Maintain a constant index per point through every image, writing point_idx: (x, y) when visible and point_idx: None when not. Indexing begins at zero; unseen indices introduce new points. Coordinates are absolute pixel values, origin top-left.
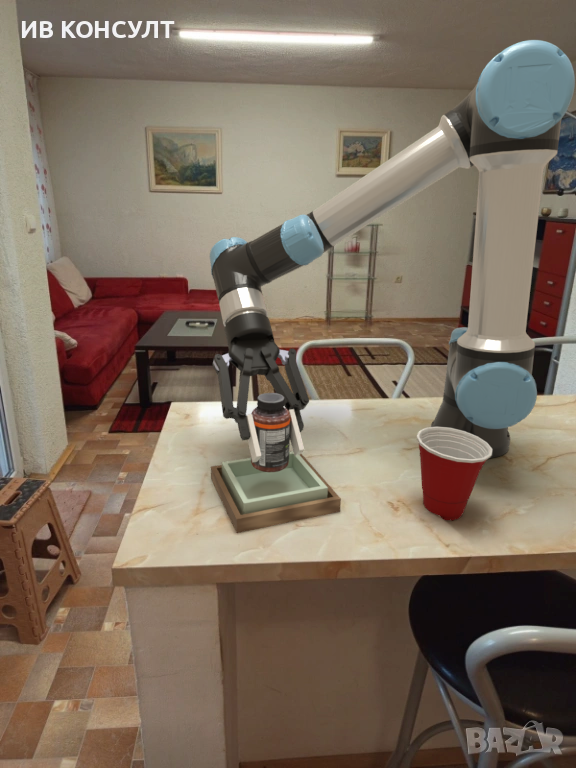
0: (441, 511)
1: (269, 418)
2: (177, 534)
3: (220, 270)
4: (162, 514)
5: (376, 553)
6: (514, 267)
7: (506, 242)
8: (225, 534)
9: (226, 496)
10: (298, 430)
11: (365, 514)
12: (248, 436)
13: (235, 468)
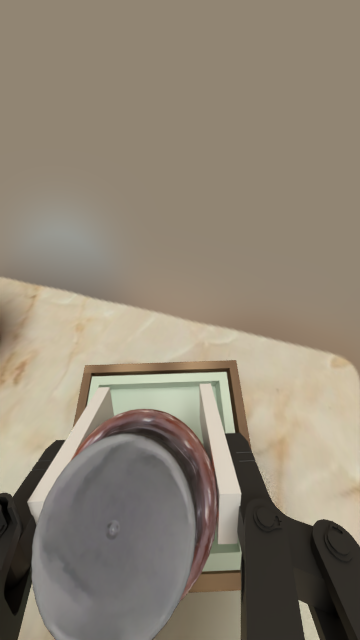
0: None
1: (164, 420)
2: (303, 397)
3: None
4: (335, 458)
5: (101, 304)
6: None
7: None
8: (242, 378)
9: (245, 425)
10: (79, 423)
11: (64, 366)
12: (227, 433)
13: (218, 545)
